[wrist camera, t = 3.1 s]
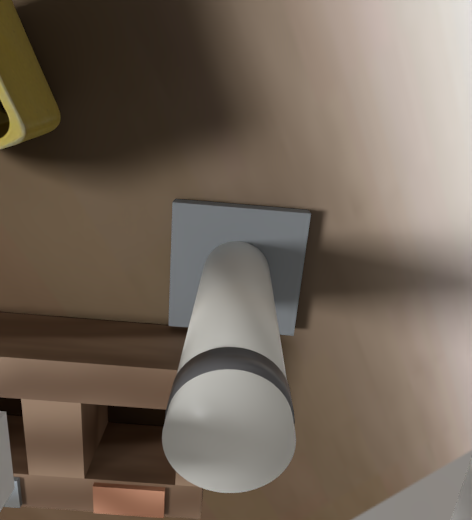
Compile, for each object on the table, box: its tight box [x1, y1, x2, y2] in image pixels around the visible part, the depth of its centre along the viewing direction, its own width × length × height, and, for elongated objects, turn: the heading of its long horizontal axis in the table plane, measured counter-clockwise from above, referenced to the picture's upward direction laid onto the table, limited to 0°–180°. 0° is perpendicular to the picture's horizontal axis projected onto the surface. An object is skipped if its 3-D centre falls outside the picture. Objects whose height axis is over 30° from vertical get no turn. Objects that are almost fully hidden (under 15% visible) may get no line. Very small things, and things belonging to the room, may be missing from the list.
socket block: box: [0, 312, 203, 519], centre depth 28 cm, size 11×18×5 cm, turn 85°
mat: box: [169, 199, 311, 336], centre depth 26 cm, size 8×8×1 cm
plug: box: [162, 241, 296, 493], centre depth 19 cm, size 4×4×14 cm
